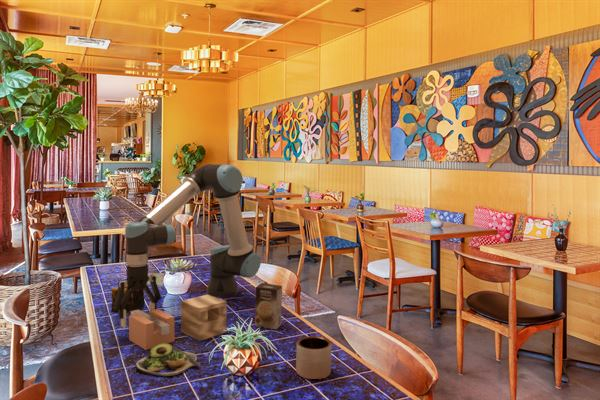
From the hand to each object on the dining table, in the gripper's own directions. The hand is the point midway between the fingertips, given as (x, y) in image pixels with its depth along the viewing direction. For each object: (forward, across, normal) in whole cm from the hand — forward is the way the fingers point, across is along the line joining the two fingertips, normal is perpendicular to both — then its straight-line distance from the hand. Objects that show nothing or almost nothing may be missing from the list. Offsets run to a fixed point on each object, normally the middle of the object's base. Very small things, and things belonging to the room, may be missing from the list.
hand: (138, 322), depth 172 cm
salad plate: (+4, -6, -30) cm, 31 cm away
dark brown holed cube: (+4, +10, +28) cm, 30 cm away
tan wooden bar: (-1, 0, -8) cm, 8 cm away
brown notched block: (+4, +18, -16) cm, 24 cm away
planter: (+4, +23, -67) cm, 71 cm away
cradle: (+4, 0, -10) cm, 11 cm away
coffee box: (+4, +40, -28) cm, 49 cm away
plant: (+5, +43, +64) cm, 78 cm away
